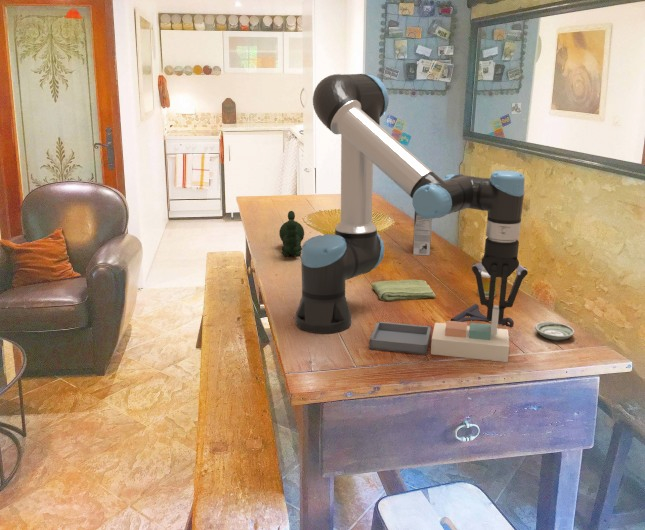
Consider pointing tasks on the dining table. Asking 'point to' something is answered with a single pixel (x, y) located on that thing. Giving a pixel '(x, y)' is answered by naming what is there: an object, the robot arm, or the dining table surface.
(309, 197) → the dining table surface
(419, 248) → the coffee box
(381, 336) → the tray
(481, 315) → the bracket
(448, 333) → the terracotta tile
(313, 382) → the dining table surface
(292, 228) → the toy figurine
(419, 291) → the washcloth
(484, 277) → the supplement bottle
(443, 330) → the cream board
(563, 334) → the saucer
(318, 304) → the robot arm
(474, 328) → the green glazed tile
